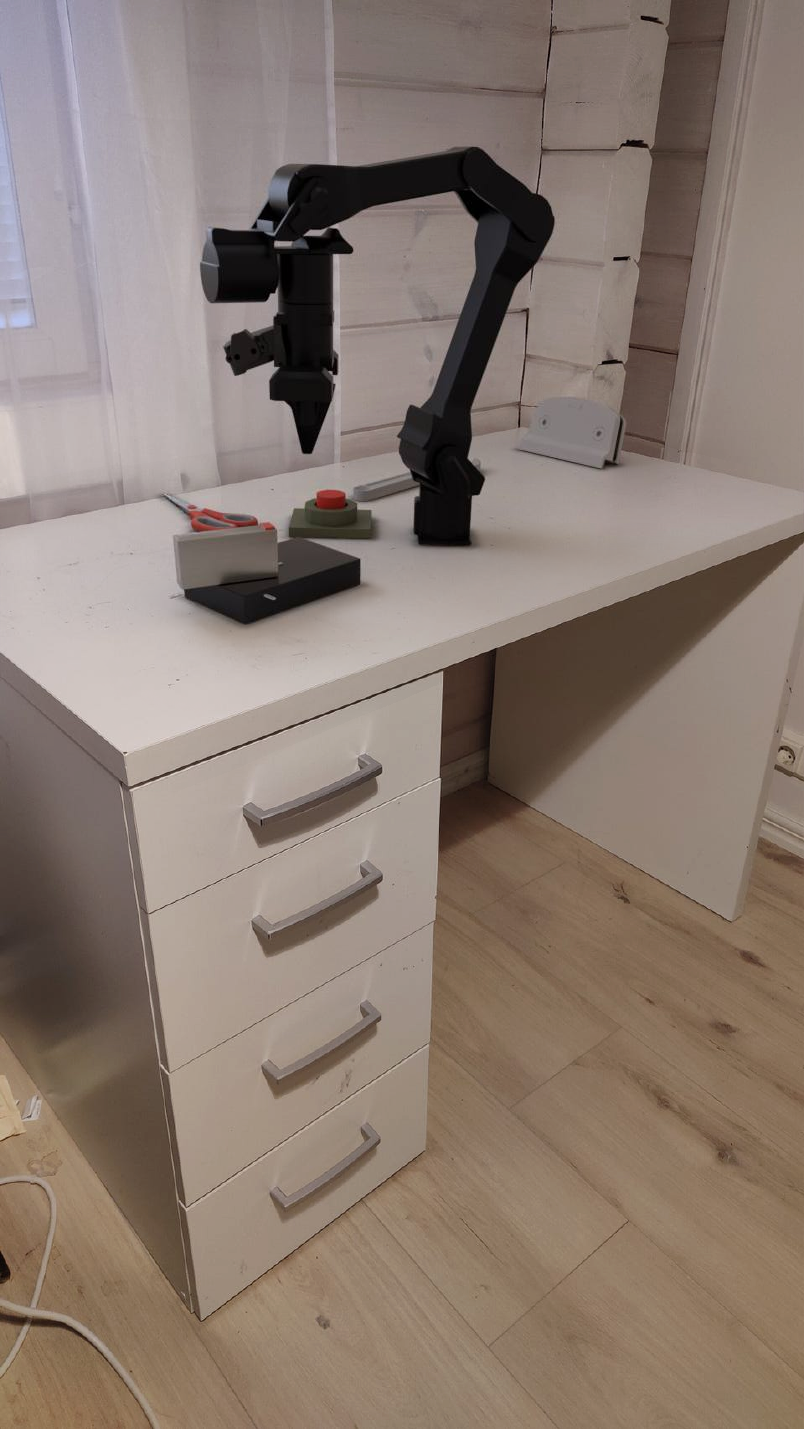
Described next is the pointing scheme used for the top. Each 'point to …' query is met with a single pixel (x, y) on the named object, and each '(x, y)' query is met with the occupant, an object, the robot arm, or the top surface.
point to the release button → (331, 499)
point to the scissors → (213, 518)
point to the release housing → (330, 521)
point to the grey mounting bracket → (576, 431)
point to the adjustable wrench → (390, 485)
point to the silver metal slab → (226, 556)
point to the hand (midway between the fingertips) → (307, 453)
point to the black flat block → (283, 583)
